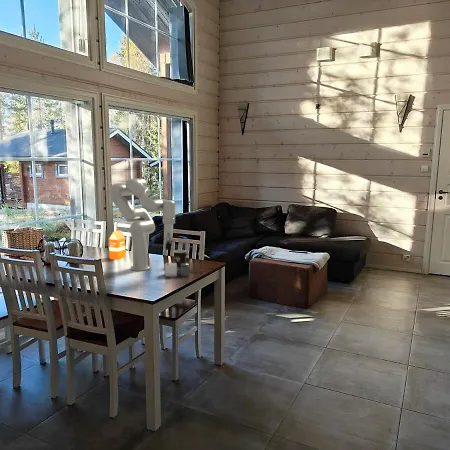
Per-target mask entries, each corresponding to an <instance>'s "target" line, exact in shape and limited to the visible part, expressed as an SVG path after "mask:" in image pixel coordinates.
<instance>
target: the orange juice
mask: <svg viewBox="0 0 450 450" xmlns="http://www.w3.org/2000/svg"><path fill="white" fill-rule="evenodd" d="M108 250H109V252H108V253H109V259H110V260H116V259H117V261H118V260H122V259H124V258H126V237H125V236H124V234H123V232H122V230H121V229H119V230H116V231H112V233H111V235H110V236H109V238H108ZM121 258H122V259H121Z"/></svg>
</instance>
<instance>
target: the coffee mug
mask: <svg viewBox="0 0 450 450" xmlns="http://www.w3.org/2000/svg"><path fill="white" fill-rule="evenodd" d="M187 255H189V256H190V257H189V258H188V259H187V258H186V256H187ZM173 257H174V258H173V259H174V263H177V268H181V264H182V263H187V262H188V261H190V259H192V255H191V253H187V250H184V249H175V250H173ZM186 259H187V260H186Z"/></svg>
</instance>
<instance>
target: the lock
mask: <svg viewBox="0 0 450 450" xmlns="http://www.w3.org/2000/svg"><path fill="white" fill-rule="evenodd" d="M177 270H178V267H177V263H175V262H166V263H165V264H164V274H165V275H164V276H165V277H166V278H169V277H170V278H171V277H177V276H178V275H177Z"/></svg>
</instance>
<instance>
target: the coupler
mask: <svg viewBox="0 0 450 450" xmlns="http://www.w3.org/2000/svg"><path fill="white" fill-rule="evenodd" d="M177 276H180V277H190V263H188V262H185V263H182V264H181V267H180V269H177Z"/></svg>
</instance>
